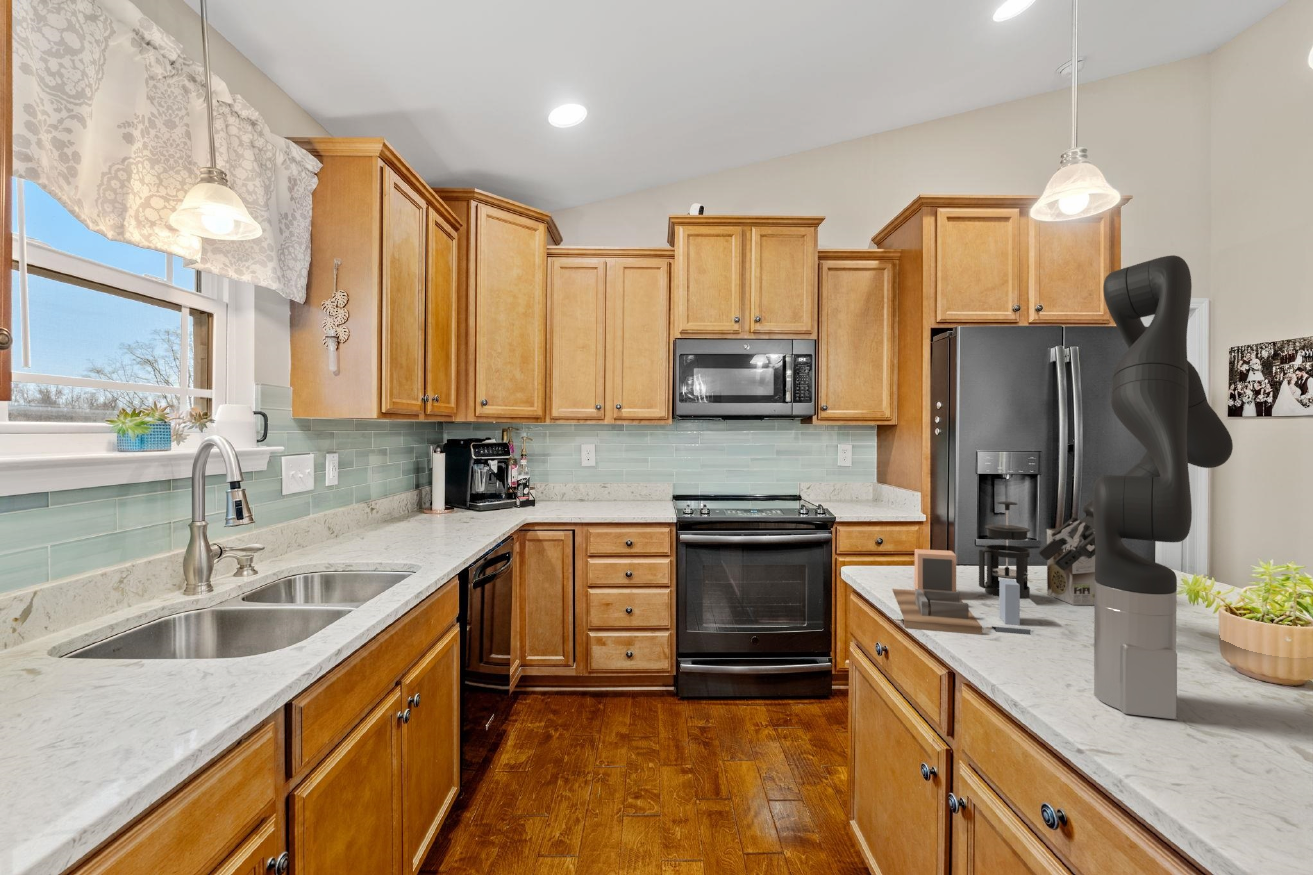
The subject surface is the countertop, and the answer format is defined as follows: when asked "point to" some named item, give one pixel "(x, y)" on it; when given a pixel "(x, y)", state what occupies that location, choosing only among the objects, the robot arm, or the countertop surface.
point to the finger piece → (1010, 607)
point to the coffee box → (1071, 578)
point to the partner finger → (935, 570)
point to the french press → (993, 556)
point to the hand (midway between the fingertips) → (1049, 561)
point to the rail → (936, 611)
